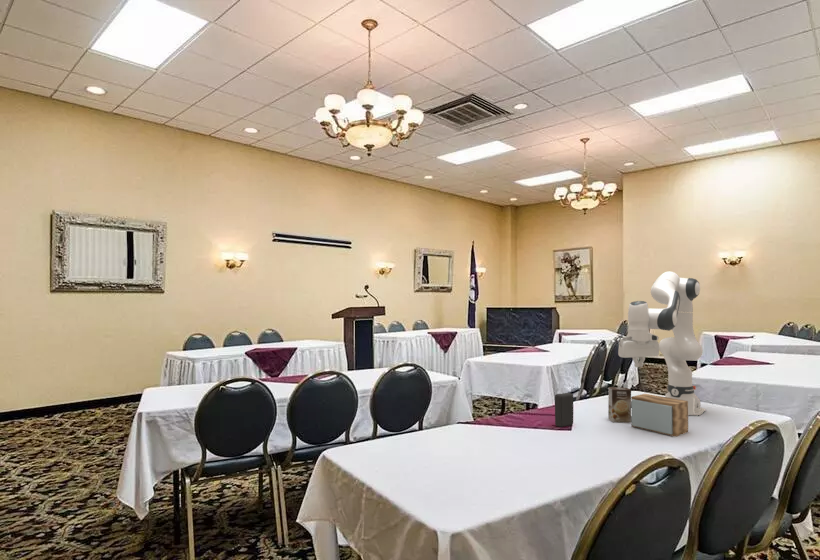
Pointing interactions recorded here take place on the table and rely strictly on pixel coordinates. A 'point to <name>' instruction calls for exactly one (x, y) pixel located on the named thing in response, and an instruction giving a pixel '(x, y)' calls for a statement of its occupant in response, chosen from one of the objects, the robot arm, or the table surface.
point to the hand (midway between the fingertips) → (638, 366)
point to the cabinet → (677, 412)
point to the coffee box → (619, 405)
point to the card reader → (563, 409)
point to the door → (651, 416)
